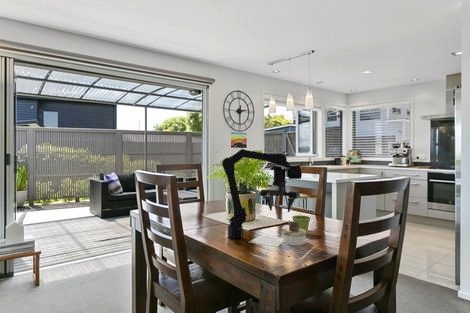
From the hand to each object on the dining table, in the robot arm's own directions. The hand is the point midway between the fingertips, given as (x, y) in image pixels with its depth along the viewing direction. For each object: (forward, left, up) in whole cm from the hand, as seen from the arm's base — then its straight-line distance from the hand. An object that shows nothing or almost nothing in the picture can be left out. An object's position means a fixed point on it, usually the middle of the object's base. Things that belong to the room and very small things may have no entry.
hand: (279, 211), depth 148 cm
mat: (-2, -9, -13) cm, 16 cm away
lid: (+9, -5, -8) cm, 13 cm away
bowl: (+9, -5, -13) cm, 17 cm away
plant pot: (+7, +12, -13) cm, 19 cm away
